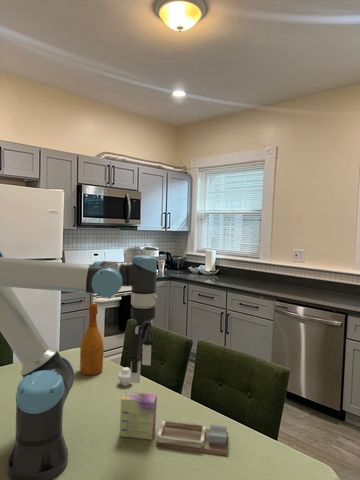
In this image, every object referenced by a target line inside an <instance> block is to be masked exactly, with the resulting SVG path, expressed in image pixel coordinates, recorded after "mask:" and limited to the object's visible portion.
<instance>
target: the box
mask: <svg viewBox="0 0 360 480" xmlns="http://www.w3.org/2000/svg"><path fill="white" fill-rule="evenodd" d="M157 401H158V394H155V393H154V394H153V393H145V392H143V393H142V392H133V391H125V392H124V394H123V396H122V398H121V401H120V414H119V416H120V419H119V437H123V438H132V439H133V438H135V439H144V440H149V441H152V440H153V439H154V436H155V431H156V425H157V423H156V422H157V421H156V419H157Z"/></svg>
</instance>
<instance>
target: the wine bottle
mask: <svg viewBox="0 0 360 480" xmlns="http://www.w3.org/2000/svg"><path fill="white" fill-rule="evenodd" d="M88 314H89V322H88V323H89V324H88V326H87V328H86V331H85V333H84V335H83V337H82V340H81V343H80V351H79V353H80V356H79V357H80V358H79V359H80V360H79V369H80V373H81V374H83V375H86V376H94V375H98V374H100V373H101V372H102V371H103V365H104V352H105V351H104V341H103V337H102V334H101V333H100V330H99V327H98V322H97V321H98V320H97V314H98V304H97V303H90V304H89V312H88Z"/></svg>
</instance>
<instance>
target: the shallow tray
mask: <svg viewBox="0 0 360 480" xmlns="http://www.w3.org/2000/svg"><path fill="white" fill-rule="evenodd" d="M227 427H228V426H227V425H221V424H214V423H213V424H212V423H211V424H210V426H209V429H207V426H205V424H204V423H196V422H195V423H194V422H189V421H181V420H173V419H164V420H162V422H161V423H160V426H159V429H158V432H157V435H156V437H157V438H156V443H155V447H163V448H169V449H177V450H184V451H191V452H199V453H205V454H212V455H220V456H228V446H229V444H228V443H229V440H228V439H229V433H228V431H227V429H228V428H227Z"/></svg>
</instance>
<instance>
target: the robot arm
mask: <svg viewBox="0 0 360 480" xmlns="http://www.w3.org/2000/svg"><path fill="white" fill-rule="evenodd" d="M157 266H158V265H157V258H156V257H155V256H153V255H134V256H132V260H131V261H108V260H107V261H106V260H102V261H94V262H92V264H91V265H90V264H80V263H71V262H70V263H69V262H58V261H49V260H48V261H47V260H36V259H28V258H27V259H26V258H16V257H15V258H14V257H6V256H4V254H3V252H2V251H1V250H0V334H1V335H2V336H3V338H4V339H5V340H6V343H8V345H9V346H10V348H11V350H12V352H13V353H14V354H15V356H16V358H17V359H18V361H19V362H20V363H21V366H22V367H21V371H20V375H21V376H22V379H21V380H20V382H19V383H18V384H17V387H16V388H17V389H16V393H15V403H16V407H15V440H14V443H13V447H12V448H11V451H10V454H9V457H8V460H7V464H6V465H7V466H6V467H7V468H6V469H7V470H6V472H7V475H8V477H9V479H10V480H52V479H54V478H56V477H57V476H58V475H60V474H61V473H62V472H63V471H64V470H66V467H67V466H68V462H69V450H68V447H67V444H66V440H65V437H64V434H63V420H64V419H63V414H64V405H65V403H66V400H67V397H68V395H69V394H70V392H71V389H72V388H73V385H74V381H75V369H74V366H73V363H71V361H70V360H69V359H67V358H66V357H64V356H61V354H60V352H58V349H56V348H51V347H49V346H48V344H47V343H46V341H45V339H44V337H43V336H42V335H41V333H40V332H39V330H38V327H36V325H35V324H34V321H33V320H32V319H31V316H30V315H29V313H28V312H27V310H26V309H25V307H24V306H23V305H22V303H21V301H20V300H19V298H18V297H17V295H16V293H15V292H14V290H13V289H12V288H19V289H30V290H31V289H32V290H41V291H42V290H43V291H45V290H46V291H59V292H72V293H83V294H84V293H85V294H92V295H93V294H94V295H97V296H99V297H100V298H105V299H106V298H107V299H108V298H111V297H114V296H115V295H117V294H118V292H119V291H121V288H122V287H128V288H129V287H130V288H131V293H130V294H131V295H130V296H131V297H130V305H131V307H130V318H131V319H132V320H133V321H134V320H135V321H136V323H135V324H134V326H133V327H132V335H131V343H130V347H129V353H128V354H129V356H128V358H127V362H130V371H131V374H130V384H131V383H132V384H133V383H134V384H140V383H141V365H143V366H151V363H152V361H151V358H152V345H153V346H154V344H155V341H154V335H153V325H152V321H153V320H154V319H155V318H156V306H155V305H156V299H158V295H156V293H157V272H158V271H157V270H158V269H157ZM141 353H142V357H141ZM141 358H142V359H141ZM140 359H141V360H140Z"/></svg>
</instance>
